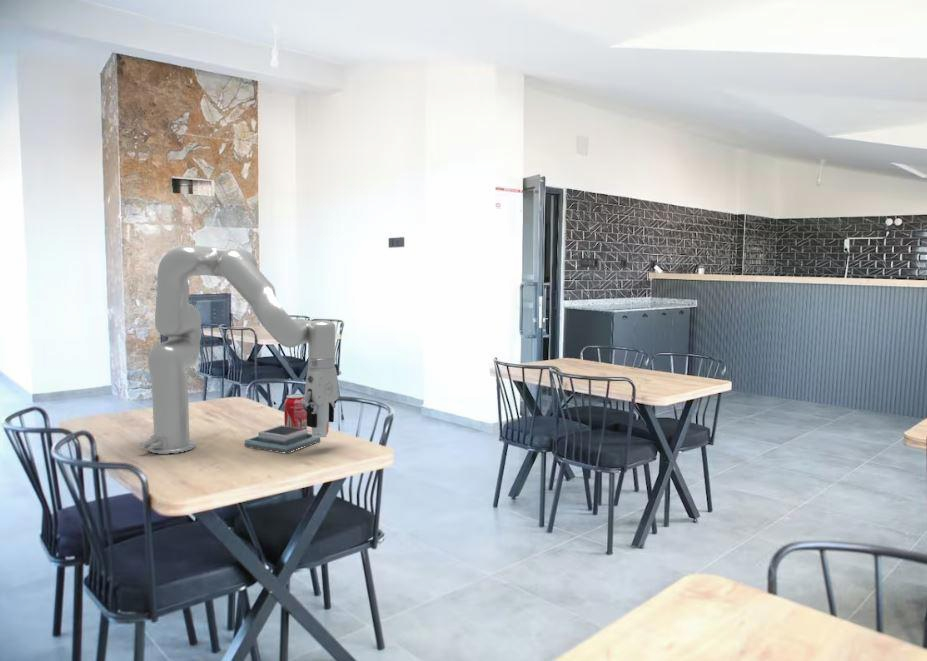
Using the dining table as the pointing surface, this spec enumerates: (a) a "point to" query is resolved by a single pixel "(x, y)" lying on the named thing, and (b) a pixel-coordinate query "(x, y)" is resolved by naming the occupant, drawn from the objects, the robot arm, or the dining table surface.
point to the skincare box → (321, 420)
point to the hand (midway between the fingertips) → (320, 423)
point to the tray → (282, 439)
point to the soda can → (295, 411)
